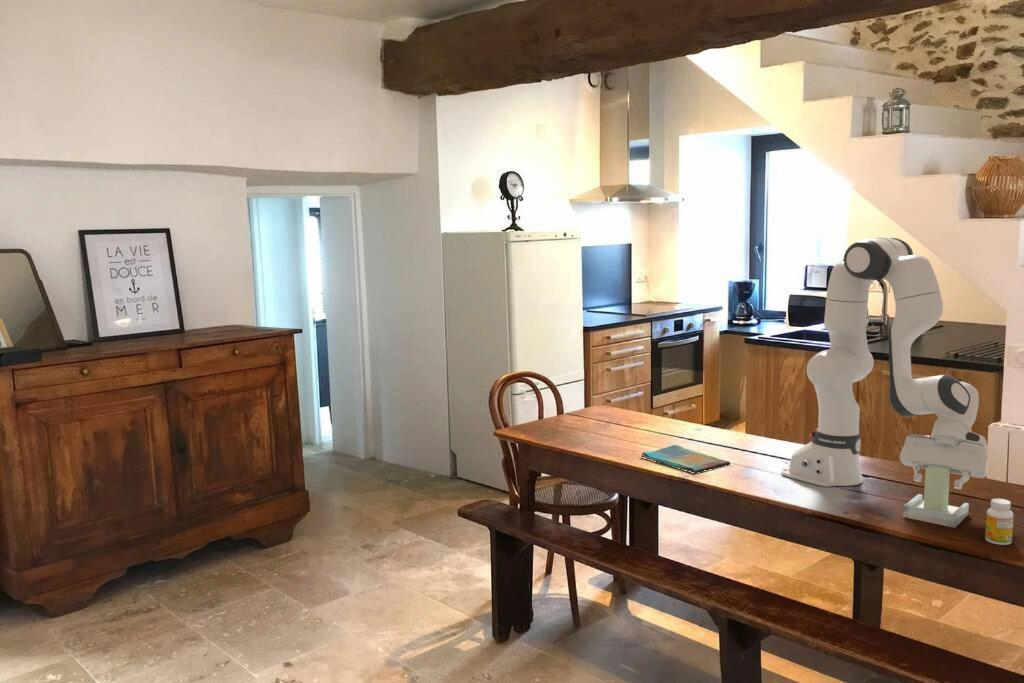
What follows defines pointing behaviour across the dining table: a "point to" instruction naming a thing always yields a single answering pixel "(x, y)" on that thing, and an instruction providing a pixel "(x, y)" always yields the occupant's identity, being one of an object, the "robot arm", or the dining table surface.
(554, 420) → the dining table surface
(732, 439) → the dining table surface
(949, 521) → the holder
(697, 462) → the dish towel
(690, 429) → the dining table surface
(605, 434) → the dining table surface
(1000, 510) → the supplement bottle
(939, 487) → the green block
